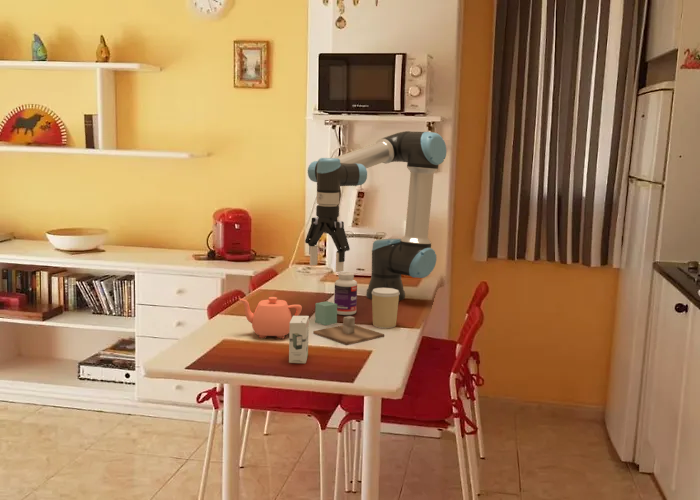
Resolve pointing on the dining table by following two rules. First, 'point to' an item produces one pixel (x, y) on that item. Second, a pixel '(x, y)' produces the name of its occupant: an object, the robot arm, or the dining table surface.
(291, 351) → the ink box
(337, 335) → the post stand
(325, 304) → the teal green block
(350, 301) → the pill bottle
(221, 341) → the dining table surface
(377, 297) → the coffee cup
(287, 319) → the teapot
